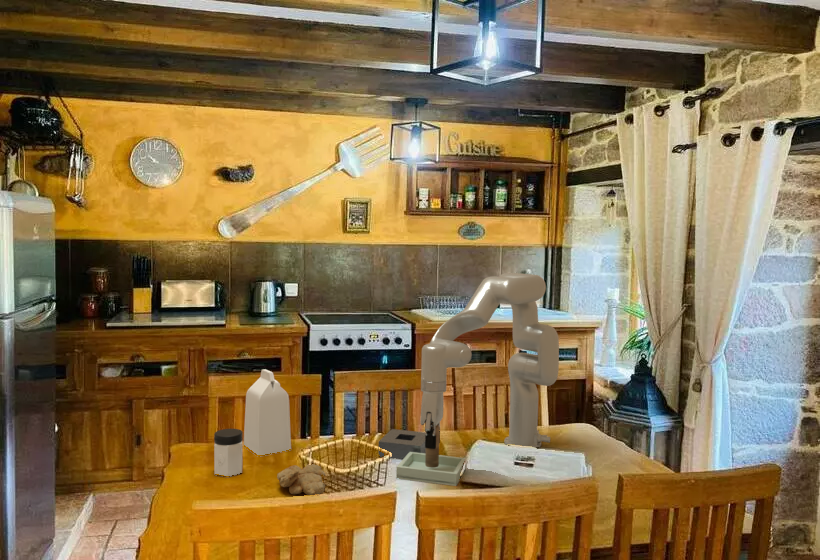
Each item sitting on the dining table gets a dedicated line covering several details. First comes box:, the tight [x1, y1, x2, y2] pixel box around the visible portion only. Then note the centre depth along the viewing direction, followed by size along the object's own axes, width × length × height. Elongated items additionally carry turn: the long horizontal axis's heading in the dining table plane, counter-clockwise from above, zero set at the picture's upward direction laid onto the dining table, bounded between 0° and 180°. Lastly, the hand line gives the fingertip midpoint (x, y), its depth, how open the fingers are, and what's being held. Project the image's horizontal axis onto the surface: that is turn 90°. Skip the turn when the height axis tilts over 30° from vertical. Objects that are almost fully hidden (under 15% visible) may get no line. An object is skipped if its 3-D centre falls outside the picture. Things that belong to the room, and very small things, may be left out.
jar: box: [213, 428, 244, 477], centre depth 196 cm, size 9×8×12 cm
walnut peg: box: [425, 424, 440, 468], centre depth 197 cm, size 4×4×12 cm
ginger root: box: [276, 463, 327, 496], centre depth 184 cm, size 16×16×8 cm
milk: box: [243, 368, 292, 456], centre depth 217 cm, size 12×12×26 cm
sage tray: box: [395, 452, 467, 487], centre depth 197 cm, size 18×14×4 cm
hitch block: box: [378, 428, 426, 460], centre depth 216 cm, size 14×14×5 cm
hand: (432, 445), depth 197 cm, fingers closed on walnut peg, 4 cm apart
